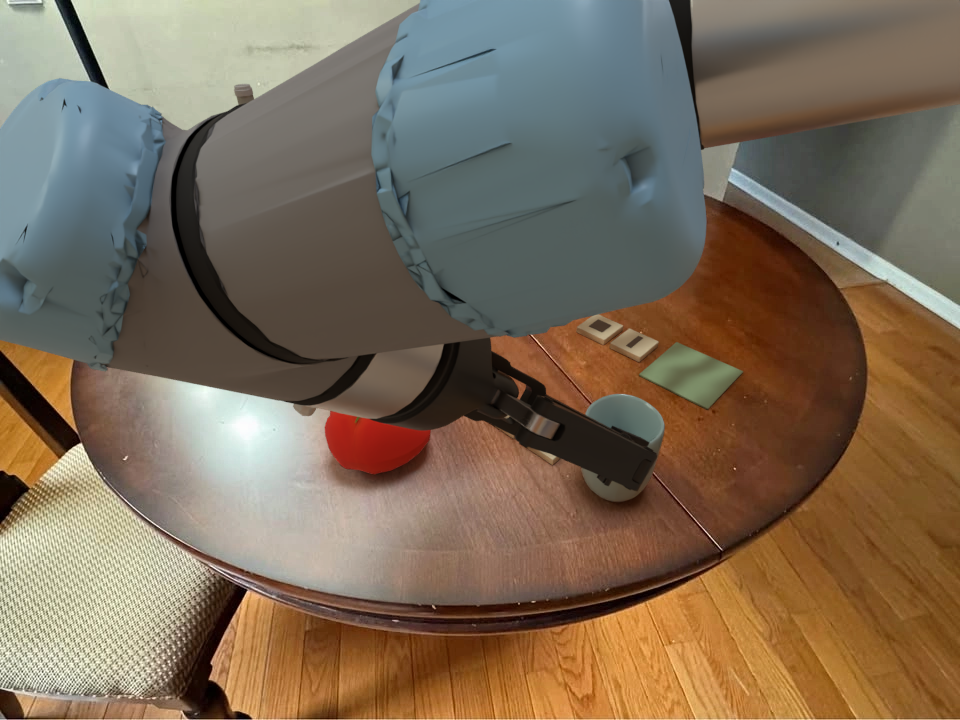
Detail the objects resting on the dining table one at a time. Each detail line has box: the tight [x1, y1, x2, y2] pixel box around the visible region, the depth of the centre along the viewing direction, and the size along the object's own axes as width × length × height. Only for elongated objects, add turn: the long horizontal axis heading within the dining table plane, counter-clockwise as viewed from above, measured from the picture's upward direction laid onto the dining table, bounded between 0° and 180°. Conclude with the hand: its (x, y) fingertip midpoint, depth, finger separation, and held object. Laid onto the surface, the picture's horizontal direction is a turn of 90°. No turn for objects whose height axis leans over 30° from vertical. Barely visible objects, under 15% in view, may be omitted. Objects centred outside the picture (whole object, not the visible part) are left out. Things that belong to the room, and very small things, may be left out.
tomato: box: [324, 411, 432, 475], centre depth 64 cm, size 13×12×8 cm
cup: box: [580, 393, 666, 503], centre depth 58 cm, size 8×8×10 cm
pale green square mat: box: [575, 314, 744, 411], centre depth 79 cm, size 22×10×1 cm, turn 45°
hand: (562, 411), depth 44 cm, fingers open, 13 cm apart
